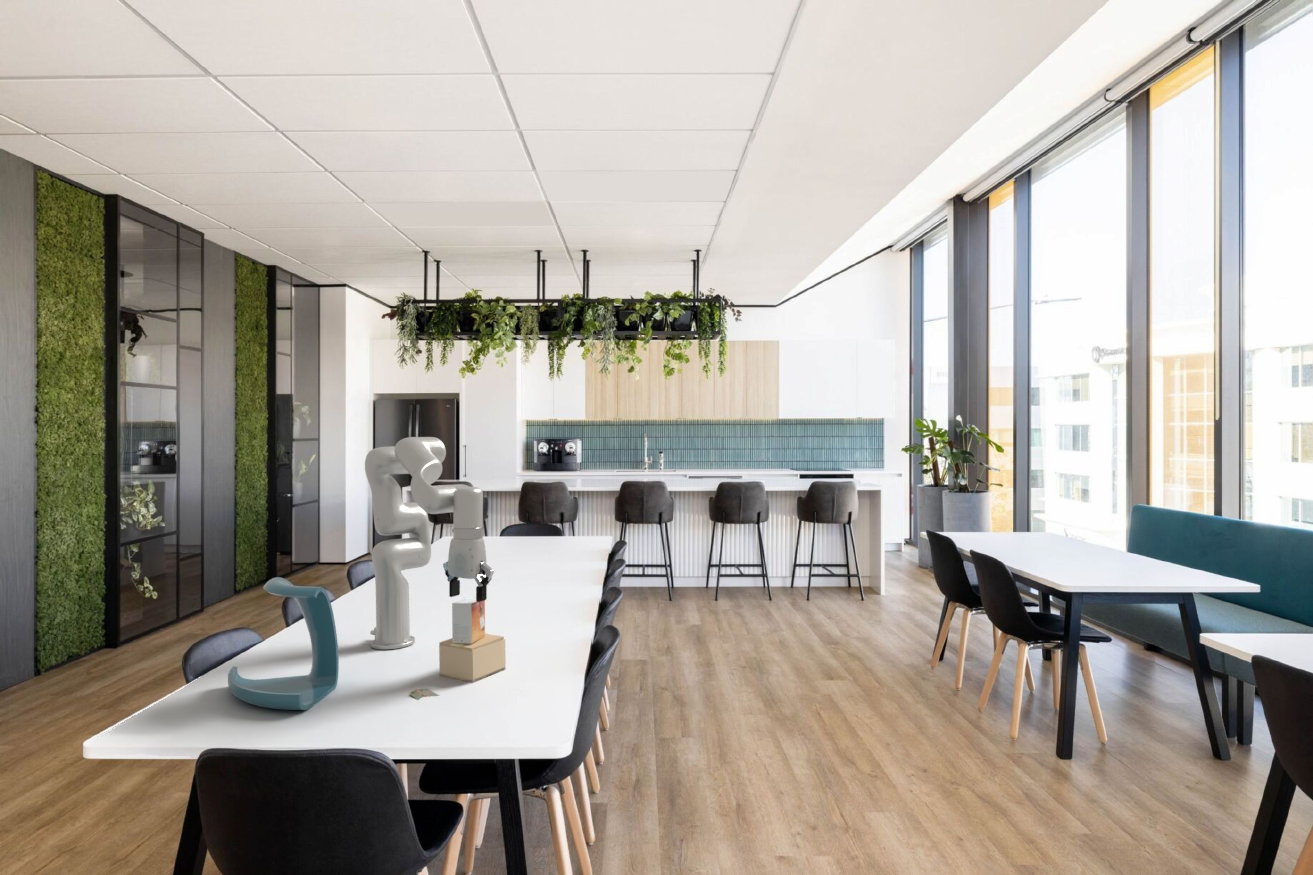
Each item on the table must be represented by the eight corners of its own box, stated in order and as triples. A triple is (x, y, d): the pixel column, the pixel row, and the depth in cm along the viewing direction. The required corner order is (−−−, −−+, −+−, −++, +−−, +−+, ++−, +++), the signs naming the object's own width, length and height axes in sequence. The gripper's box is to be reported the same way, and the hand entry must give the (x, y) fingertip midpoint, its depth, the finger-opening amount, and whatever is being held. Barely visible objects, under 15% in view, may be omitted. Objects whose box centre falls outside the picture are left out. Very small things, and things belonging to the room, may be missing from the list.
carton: (439, 675, 189) (439, 644, 189) (472, 662, 199) (472, 633, 199) (473, 682, 183) (472, 651, 183) (505, 669, 193) (505, 639, 193)
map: (425, 690, 179) (425, 686, 179) (471, 710, 165) (471, 706, 165) (406, 695, 175) (406, 691, 175) (451, 717, 161) (451, 712, 161)
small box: (471, 644, 186) (471, 603, 186) (451, 643, 187) (451, 602, 187) (485, 636, 194) (485, 597, 194) (466, 635, 195) (466, 596, 195)
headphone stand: (298, 716, 162) (305, 592, 163) (175, 712, 162) (183, 588, 164) (350, 684, 188) (355, 577, 190) (243, 680, 188) (250, 574, 190)
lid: (438, 645, 189) (437, 642, 189) (472, 633, 199) (472, 630, 199) (470, 651, 183) (470, 648, 183) (503, 639, 193) (503, 636, 193)
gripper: (434, 532, 192) (433, 596, 192) (482, 538, 183) (481, 605, 183) (455, 529, 198) (454, 591, 199) (502, 534, 189) (502, 599, 190)
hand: (467, 598), depth 191 cm, fingers open, 9 cm apart
